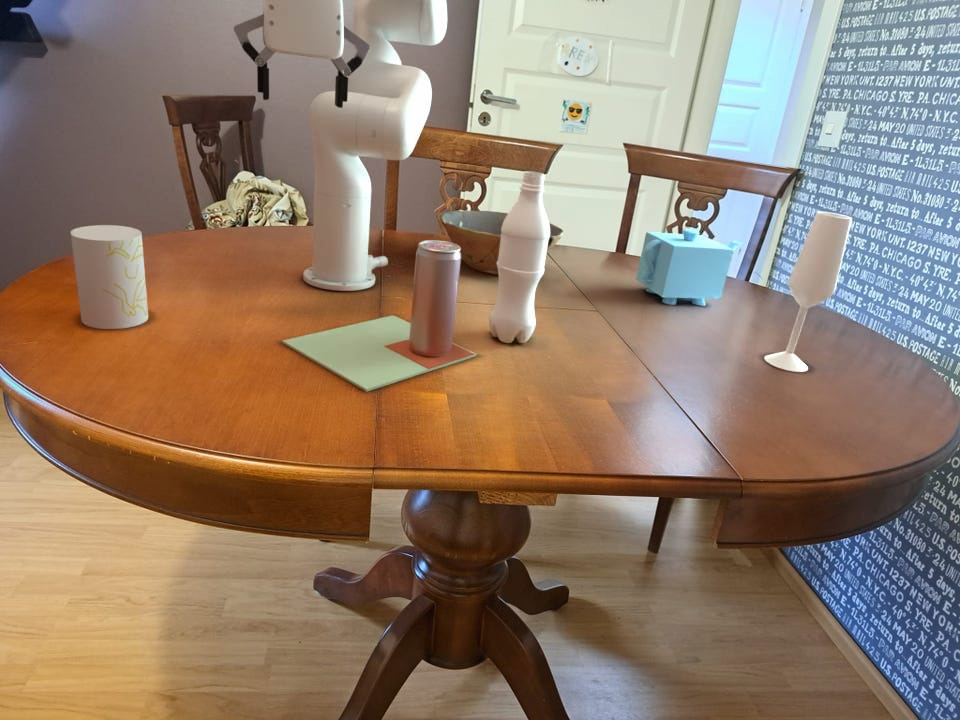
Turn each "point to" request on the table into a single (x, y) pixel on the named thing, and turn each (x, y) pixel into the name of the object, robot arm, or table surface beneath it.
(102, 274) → the cup
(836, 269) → the champagne flute
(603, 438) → the table surface
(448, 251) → the beverage can
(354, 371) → the placemat
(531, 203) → the water bottle
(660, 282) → the teapot
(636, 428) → the table surface
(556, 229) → the bowl
